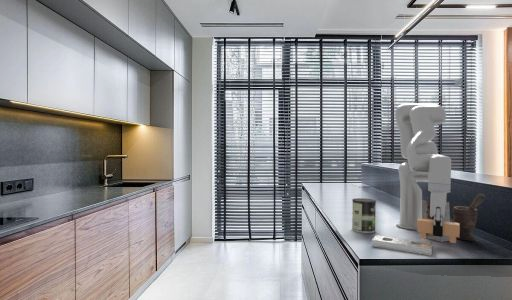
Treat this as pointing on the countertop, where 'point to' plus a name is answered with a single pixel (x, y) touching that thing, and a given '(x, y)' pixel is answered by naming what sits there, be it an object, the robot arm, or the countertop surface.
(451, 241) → the orange pronged block
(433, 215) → the robot arm
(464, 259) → the countertop surface
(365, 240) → the countertop surface
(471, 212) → the mortar and pestle
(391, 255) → the countertop surface
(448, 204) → the coffee box
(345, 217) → the countertop surface
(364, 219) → the coffee can
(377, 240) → the flat gray board
